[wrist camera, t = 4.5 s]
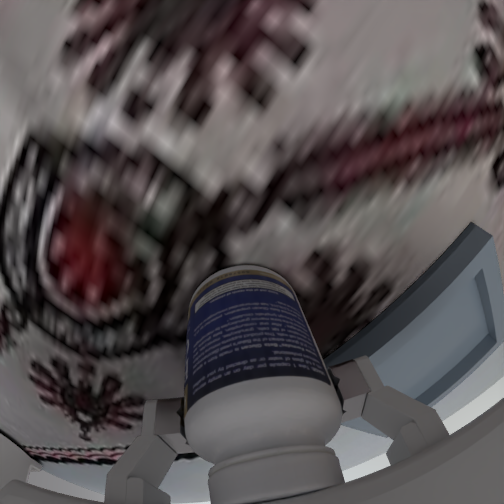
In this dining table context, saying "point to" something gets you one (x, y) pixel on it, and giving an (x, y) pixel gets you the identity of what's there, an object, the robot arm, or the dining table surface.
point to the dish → (436, 325)
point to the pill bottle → (257, 390)
